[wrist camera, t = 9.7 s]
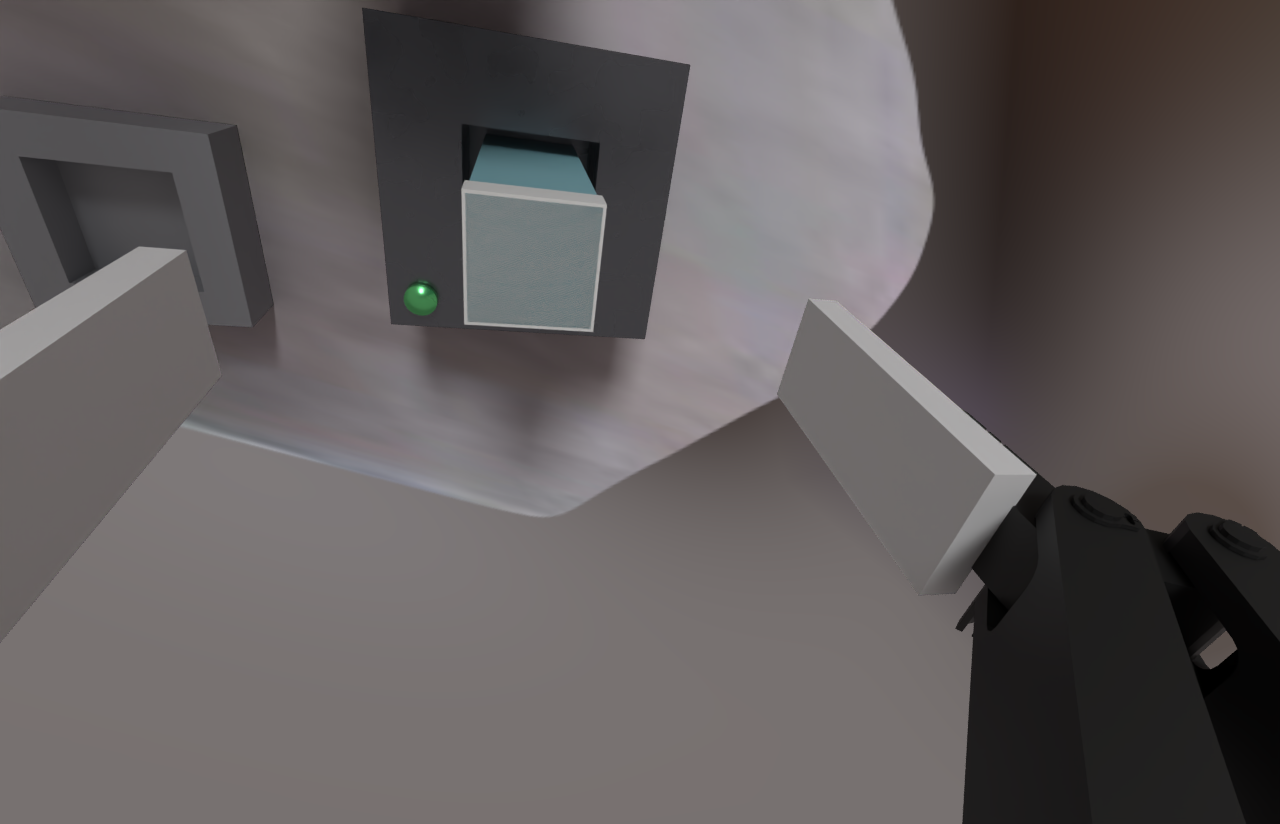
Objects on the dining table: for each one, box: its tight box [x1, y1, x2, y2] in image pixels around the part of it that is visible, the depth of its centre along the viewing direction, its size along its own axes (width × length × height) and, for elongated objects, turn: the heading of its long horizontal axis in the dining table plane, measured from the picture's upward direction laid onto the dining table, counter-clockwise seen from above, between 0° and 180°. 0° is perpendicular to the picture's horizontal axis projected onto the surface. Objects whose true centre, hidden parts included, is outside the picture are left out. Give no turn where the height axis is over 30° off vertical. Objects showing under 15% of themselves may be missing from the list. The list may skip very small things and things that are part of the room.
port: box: [362, 8, 690, 339], centre depth 27 cm, size 12×12×7 cm
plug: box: [461, 134, 607, 332], centre depth 23 cm, size 4×4×12 cm
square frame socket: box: [0, 96, 273, 327], centre depth 27 cm, size 9×9×3 cm
